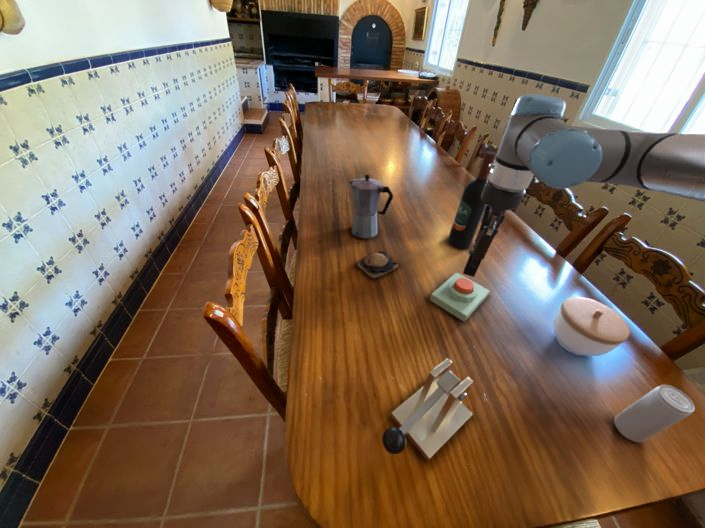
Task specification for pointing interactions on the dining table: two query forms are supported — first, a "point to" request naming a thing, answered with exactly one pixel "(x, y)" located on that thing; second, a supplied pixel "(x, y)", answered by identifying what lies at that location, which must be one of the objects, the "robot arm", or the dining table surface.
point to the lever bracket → (435, 413)
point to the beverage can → (653, 413)
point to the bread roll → (377, 264)
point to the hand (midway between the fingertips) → (468, 273)
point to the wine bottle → (470, 207)
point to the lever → (418, 415)
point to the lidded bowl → (589, 327)
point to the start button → (463, 286)
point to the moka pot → (367, 205)
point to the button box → (459, 298)
